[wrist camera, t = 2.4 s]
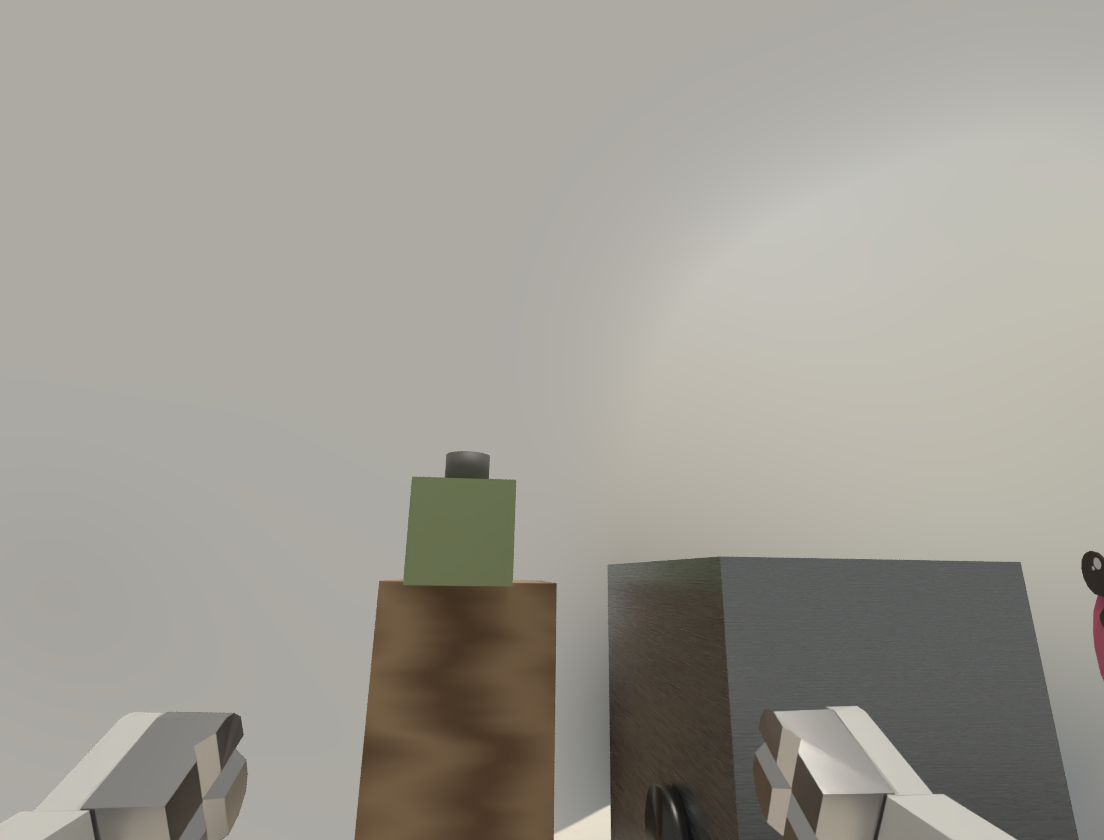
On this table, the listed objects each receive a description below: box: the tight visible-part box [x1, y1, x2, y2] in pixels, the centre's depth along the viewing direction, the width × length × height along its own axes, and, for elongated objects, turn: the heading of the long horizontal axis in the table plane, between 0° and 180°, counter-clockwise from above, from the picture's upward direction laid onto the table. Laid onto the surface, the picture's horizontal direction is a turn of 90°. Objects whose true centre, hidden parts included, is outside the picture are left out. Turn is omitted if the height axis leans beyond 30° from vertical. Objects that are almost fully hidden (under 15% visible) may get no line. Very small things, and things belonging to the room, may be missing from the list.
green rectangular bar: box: [403, 451, 516, 587], centre depth 30 cm, size 4×19×5 cm, turn 5°
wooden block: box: [355, 579, 556, 840], centre depth 29 cm, size 9×10×26 cm
